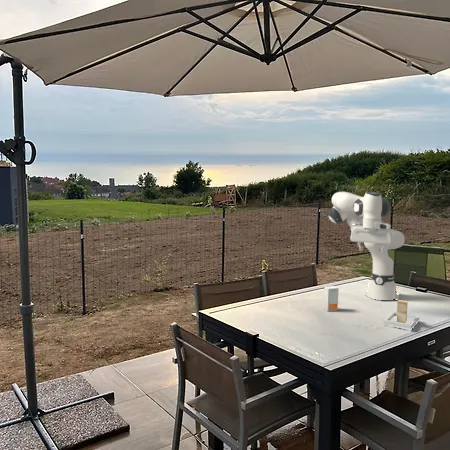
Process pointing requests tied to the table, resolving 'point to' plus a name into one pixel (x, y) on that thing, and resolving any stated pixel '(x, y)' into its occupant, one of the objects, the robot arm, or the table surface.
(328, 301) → the skincare box
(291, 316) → the table surface
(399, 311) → the birch block
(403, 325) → the tray
